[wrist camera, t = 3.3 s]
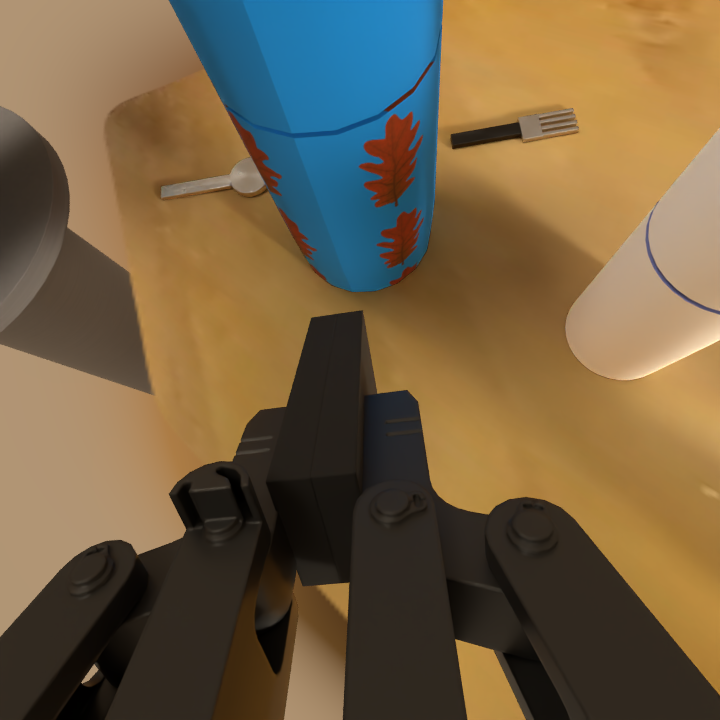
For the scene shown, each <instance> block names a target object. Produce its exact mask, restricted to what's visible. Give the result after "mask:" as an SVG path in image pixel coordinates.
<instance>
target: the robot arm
mask: <svg viewBox="0 0 720 720" xmlns="http://www.w3.org/2000/svg"><path fill="white" fill-rule="evenodd" d="M169 495H170V498H171V499H172V502H173V504H174V505H175V508H176V509H177V512H178V514H179V516H180V517H181V519H182V521H183V523H184V525H185V527H186V532H185V534H184V536H183V538H181V539H179V540H176V541H174V542H172V543H169V544H166V545H164V546H161V547H158V548H155V549H153V550H150V551H147V552H145V553H142V554H139V555H137V554H136V552H135V550H134V549H133V547H132V545H131V544H129V543H127V542H124V541H122V540H114V541H105V542H102V543H100V544H97V545H94V546H91V547H90V548H88V549H86V550H85V551H83V552H81V553H80V554H78V555H77V556H75V557H74V558H73V559H72V560H71V561H69V562H68V563H67V564H66V565H65V566H64V567H63V568H62V569H61V570H60V571H59V572H58V573H57V574H56V575H55V576H54V578H53V579H52V580H51V581H50V582H49V583H48V584H47V585H46V587H45V588H44V589H43V590H42V591H41V592H40V593H39V594H38V595H37V597H36V598H35V599H34V600H33V601H32V602H31V603H30V605H29V606H28V607H27V608H26V609H25V610H24V611H23V612H22V613H21V614H20V616H19V617H18V618H17V619H16V620H15V621H14V622H13V623H12V625H11V626H10V627H9V628H8V629H7V630H6V631H5V632H4V633H3V635H2V636H1V637H0V720H284V714H285V707H286V700H287V693H288V686H289V679H290V672H291V664H292V657H293V650H294V643H295V636H296V629H297V628H296V627H297V622H298V604H297V601H296V599H295V596H294V593H293V589H294V582H295V576H296V570H297V572H298V575H299V577H300V580H301V583H302V585H303V586H313V585H325V584H337V583H349V582H350V585H349V605H348V625H347V646H346V667H345V687H344V688H345V689H344V707H343V720H467V714H466V708H465V701H464V695H463V688H462V681H461V675H460V668H459V662H458V655H457V649H456V642H455V639H457V640H461V641H464V642H468V643H471V644H475V645H478V646H482V647H486V648H489V649H493V650H494V652H495V654H496V656H497V658H498V660H499V663H500V665H501V667H502V669H503V671H504V673H505V675H506V678H507V680H508V682H509V684H510V686H511V688H512V690H513V693H514V695H515V697H516V699H517V701H518V703H519V705H520V708H521V710H522V712H523V714H524V716H525V718H526V720H720V695H719V694H718V693H717V692H716V690H715V689H714V688H713V687H712V686H711V684H710V683H709V682H708V681H707V680H706V678H705V677H704V676H703V675H702V673H701V672H700V671H699V670H698V669H697V667H696V666H695V665H694V664H693V663H692V661H691V660H690V659H689V658H688V657H687V655H686V654H685V653H684V652H683V650H682V649H681V648H680V647H679V646H678V644H677V643H676V642H675V641H674V640H673V638H672V637H671V636H670V635H669V633H668V632H667V631H666V630H665V629H664V627H663V626H662V625H661V624H660V623H659V621H658V620H657V619H656V618H655V616H654V615H653V614H652V613H651V612H650V610H649V609H648V608H647V607H646V606H645V604H644V603H643V602H642V601H641V599H640V598H639V597H638V596H637V595H636V593H635V592H634V591H633V590H632V589H631V587H630V586H629V585H628V584H627V583H626V581H625V580H624V579H623V578H622V576H621V575H620V574H619V573H618V572H617V570H616V569H615V568H614V567H613V566H612V564H611V563H610V562H609V561H608V559H607V558H606V557H605V556H604V555H603V553H602V552H601V551H600V550H599V549H598V547H597V546H596V545H595V544H594V542H593V541H592V540H591V539H590V538H589V536H588V535H587V534H586V533H585V532H584V530H583V529H582V528H581V527H580V525H579V524H578V523H577V522H576V521H575V519H574V518H572V517H571V516H570V515H569V514H568V513H567V512H565V511H564V510H563V509H562V508H561V507H559V506H556V505H554V504H552V503H550V502H548V501H545V500H541V499H535V498H528V497H523V498H516V499H509V500H507V501H505V502H503V503H501V504H499V505H497V506H495V508H494V509H493V510H492V511H491V513H490V514H489V515H487V514H481V513H475V512H470V511H466V510H462V509H458V508H456V507H454V506H452V505H450V504H448V503H446V502H445V501H444V500H443V499H441V498H440V497H439V496H438V495H437V493H436V492H435V491H434V489H433V487H432V484H431V481H430V476H429V470H428V463H427V457H426V450H425V444H424V437H423V431H422V424H421V418H420V411H419V405H418V401H417V400H416V399H415V398H414V397H413V396H412V395H411V394H410V393H409V392H408V391H407V390H404V391H396V392H388V393H380V394H377V389H376V383H375V378H374V372H373V366H372V360H371V355H370V349H369V343H368V338H367V332H366V326H365V321H364V315H363V310H361V311H354V312H348V313H341V314H334V315H327V316H320V317H313V318H311V321H310V324H309V328H308V332H307V335H306V339H305V342H304V346H303V350H302V353H301V357H300V360H299V364H298V367H297V371H296V375H295V378H294V382H293V385H292V389H291V393H290V396H289V400H288V403H287V407H280V408H272V409H264V410H260V411H259V412H258V413H257V414H256V415H255V416H254V417H253V418H252V419H251V420H250V421H249V423H248V424H247V425H246V428H245V430H244V433H243V435H242V438H241V443H239V446H238V448H237V451H236V456H234V459H233V461H232V462H225V461H219V462H215V463H211V464H207V465H204V466H202V467H200V468H198V469H196V470H194V471H192V472H190V473H189V474H187V475H186V476H185V477H184V478H183V479H181V480H180V481H178V482H177V484H176V485H175V486H174V488H173V489H172V490H171V492H170V493H169ZM94 664H95V665H96V667H97V668H98V669H99V670H98V671H97V673H95V675H94V676H93V677H92V678H91V679H90V680H89V681H87V682H85V683H83V684H82V683H81V682H82V680H83V679H84V678H85V676H86V675H87V673H88V672H89V670H90V669H91V667H92V666H93V665H94Z"/></svg>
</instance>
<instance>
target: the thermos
mask: <svg viewBox="0 0 720 720" xmlns="http://www.w3.org/2000/svg"><path fill="white" fill-rule="evenodd" d="M169 1H170V4H171V5H172V7H173V9H174V11H175V13H176V15H177V17H178V18H179V21H180V23H181V24H182V26H183V28H184V30H185V32H186V34H187V36H188V38H189V40H190V42H191V44H192V45H193V47H194V49H195V51H196V53H197V55H198V57H199V59H200V61H201V63H202V65H203V66H204V68H205V70H206V72H207V74H208V76H209V78H210V79H211V82H212V84H213V86H214V87H215V89H216V91H217V93H218V95H219V97H220V99H221V101H222V103H223V105H224V107H225V108H226V110H227V112H228V114H229V116H230V118H231V120H232V122H233V124H234V126H235V128H236V129H237V131H238V133H239V135H240V137H241V139H242V141H243V143H244V145H245V147H246V149H247V150H248V152H249V154H250V156H251V158H252V160H253V162H254V164H255V166H256V168H257V170H258V171H259V173H260V175H261V177H262V179H263V181H264V183H265V185H266V187H267V189H268V190H269V192H270V194H271V196H272V198H273V200H274V202H275V204H276V206H277V208H278V210H279V211H280V213H281V215H282V217H283V219H284V221H285V223H286V225H287V227H288V229H289V231H290V232H291V234H292V236H293V238H294V239H295V241H296V243H297V245H298V246H299V248H300V250H301V252H302V253H303V255H304V256H305V258H306V259H307V261H308V262H309V264H310V265H311V267H312V268H313V270H314V271H315V273H317V274H318V275H319V276H320V277H322V278H323V279H324V280H326V281H327V282H328V283H329V284H331V285H332V286H336V287H339V288H342V289H345V290H348V291H351V292H366V291H378V290H380V289H383V288H386V287H389V286H391V285H394V284H397V283H398V282H400V281H401V280H402V279H403V278H405V277H406V276H407V275H408V274H410V273H411V272H412V271H413V270H415V269H416V267H417V266H418V264H419V262H420V261H421V259H422V257H423V256H424V254H425V253H426V251H427V247H428V242H429V236H430V231H431V224H432V217H433V209H434V202H435V180H436V156H437V133H438V109H439V85H440V62H441V38H442V14H443V0H169Z"/></svg>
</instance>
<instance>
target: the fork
mask: <svg viewBox="0 0 720 720" xmlns="http://www.w3.org/2000/svg"><path fill="white" fill-rule="evenodd" d="M573 112H574V109H573V108H571V109H565V110H559V111H554V112H548V113H543V114H535V115H529V116H524V117H518V120H517V123H512V124H506V125H501V126H495V127H489V128H484V129H478V130H473V131H467V132H461V133H456V134H451V138H450V139H451V144H452V149H455V148H461V147H467V146H472V145H478V144H484V143H489V142H495V141H501V140H506V139H512V138H518V137H521V139H522V142H528V141H534V140H540V139H543V138H549V137H554V136H560V135H566V134H571V133H577V132H578V130H579V127H578V126H576V125H577V120H574V119H575V117H576V116H575V114H573ZM566 115H567V116H566ZM549 118H550V119H549ZM539 120H540V121H539ZM573 120H574V121H573ZM562 122H563V123H562ZM556 123H557V124H556ZM545 125H546V126H545ZM575 126H576V127H575ZM569 127H571V128H569ZM564 128H565V129H564ZM558 129H559V130H558ZM552 130H553V131H552ZM547 131H548V132H547ZM542 132H543V133H542Z"/></svg>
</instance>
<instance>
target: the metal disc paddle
mask: <svg viewBox="0 0 720 720" xmlns="http://www.w3.org/2000/svg"><path fill="white" fill-rule="evenodd" d="M232 187H233V189H234V190H235V191H236V192H237V193H238V194H240V195H242V196H245V197H253V196H256V195H259V194H261V193H262V192H264V191H265V190H266V189H267V187H266V185H265V183H264V181H263V179H262V177H261V175H260V173H259V171H258V170H257V168H256V166H255V164H254V162H253V160H252V158H251V157H249V158H245V159H243V160H241V161H239V162H238V163H237V164H236V165H235V166H234V167H233V169H232V170H231V173H230V174H228V175H223V176H217V177H211V178H206V179H200V180H195V181H189V182H183V183H178V184H172V185H167V186H161V199H162V200H168V199H174V198H179V197H185V196H191V195H196V194H202V193H208V192H214V191H219V190H225V189H231V188H232Z"/></svg>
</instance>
